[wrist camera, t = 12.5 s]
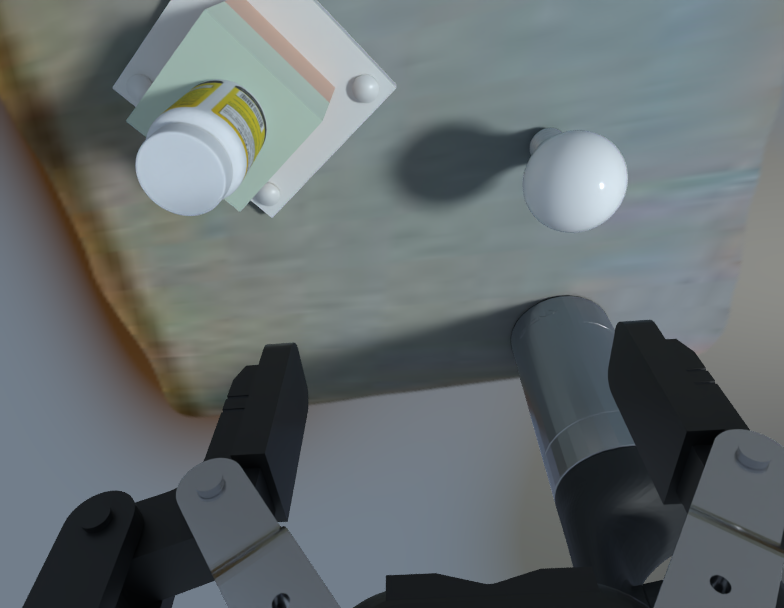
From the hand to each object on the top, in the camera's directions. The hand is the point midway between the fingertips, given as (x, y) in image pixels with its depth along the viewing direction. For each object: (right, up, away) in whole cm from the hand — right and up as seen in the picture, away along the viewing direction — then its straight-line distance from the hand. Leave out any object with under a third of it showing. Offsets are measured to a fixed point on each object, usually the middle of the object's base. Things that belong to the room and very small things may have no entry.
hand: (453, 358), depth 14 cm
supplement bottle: (-11, +12, +17) cm, 24 cm away
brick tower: (-11, +17, +25) cm, 32 cm away
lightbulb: (+10, +14, +27) cm, 32 cm away
